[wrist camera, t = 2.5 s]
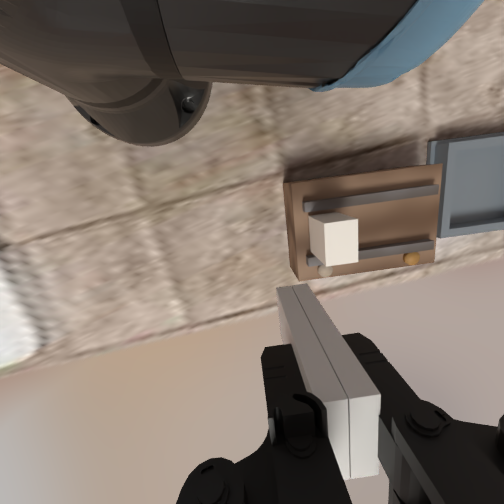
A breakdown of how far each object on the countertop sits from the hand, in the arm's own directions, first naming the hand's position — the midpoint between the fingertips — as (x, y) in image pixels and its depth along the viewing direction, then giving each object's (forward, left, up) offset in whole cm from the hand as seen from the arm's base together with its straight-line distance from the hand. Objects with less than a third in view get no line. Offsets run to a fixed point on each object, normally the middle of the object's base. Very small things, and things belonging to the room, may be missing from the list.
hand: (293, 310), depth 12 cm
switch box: (0, +12, -20) cm, 23 cm away
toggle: (0, +7, -15) cm, 16 cm away
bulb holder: (-2, +28, -20) cm, 34 cm away
